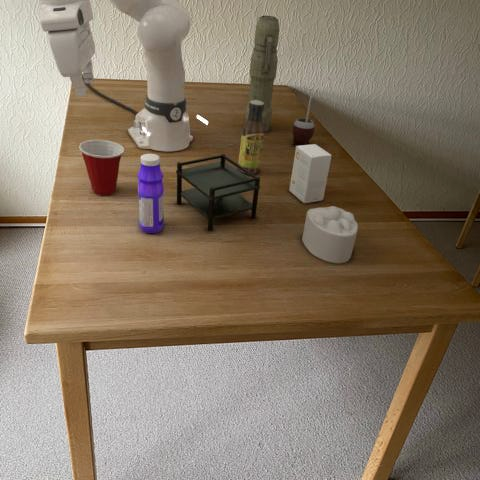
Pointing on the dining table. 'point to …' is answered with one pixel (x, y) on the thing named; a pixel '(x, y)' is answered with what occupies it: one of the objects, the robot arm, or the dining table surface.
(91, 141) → the plastic cup
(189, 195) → the tray
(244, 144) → the sauce bottle
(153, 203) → the bottle
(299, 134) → the mate gourd
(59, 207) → the dining table surface
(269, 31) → the stone statue
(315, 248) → the lumpy-topped squat cylinder
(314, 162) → the small box
